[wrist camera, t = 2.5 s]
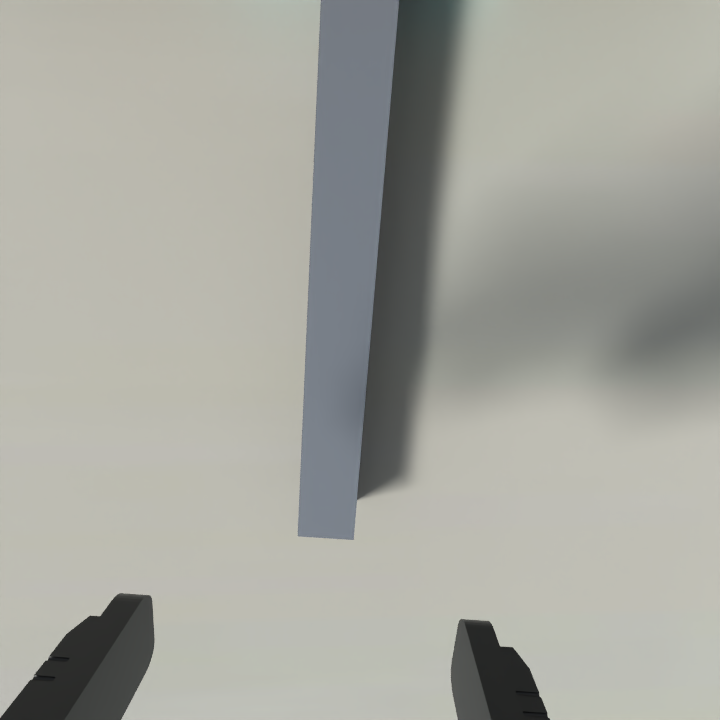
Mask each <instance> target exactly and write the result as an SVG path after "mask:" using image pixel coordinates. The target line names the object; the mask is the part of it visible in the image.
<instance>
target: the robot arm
mask: <svg viewBox="0 0 720 720" xmlns="http://www.w3.org/2000/svg"><path fill="white" fill-rule="evenodd" d="M153 649H154V625H153V607H152V598H151V596H149V595H136V594H123V593H120V594H118V595H117V596H115V597H114V599H113V600H112V601H111V603H110V604H109V605H108V607H107V608H106V609H105V611H104V612H103V613H102V615H101V616H89V617H88V618H87V619H85V620H84V621H83V622H81V623H80V624H79V625H78V626H76V627H75V628H74V629H72V630H71V631H70V632H69V633H67V634H66V636H65V637H64V638H63V639H62V641H61V642H60V643H59V644H58V646H57V647H56V648H55V650H54V651H53V652H52V653H51V655H50V656H49V659H48V661H45V662H44V663H43V665H42V666H41V667H40V668H39V670H38V671H37V672H36V674H35V675H34V678H33V680H30V681H29V682H28V684H27V685H26V686H25V687H24V689H23V690H22V691H21V693H20V694H19V695H18V696H17V698H16V699H15V700H14V701H13V703H12V704H11V705H10V706H9V708H8V709H7V710H6V712H5V713H4V714H3V715H2V717H1V718H0V720H121V719H122V717H123V715H124V713H125V711H126V709H127V707H128V705H129V703H130V701H131V700H132V698H133V696H134V694H135V692H136V690H137V688H138V686H139V684H140V682H141V681H142V679H143V677H144V675H145V673H146V671H147V669H148V666H149V664H150V661H151V658H152V654H153ZM451 683H452V692H453V697H454V702H455V707H456V712H457V717H458V720H550V719H549V718H548V716H547V711H546V709H545V706H544V704H543V701H542V699H541V697H539V691H538V689H537V686H536V684H535V681H534V679H533V676H532V674H531V671H530V669H529V667H528V666H527V665H526V664H525V662H524V661H523V660H522V659H521V657H520V656H519V655H518V653H517V652H516V651H515V650H514V648H513V647H500V646H499V643H498V640H497V637H496V634H495V631H494V629H493V626H492V624H491V623H490V622H489V621H479V620H465V619H461V620H460V621H459V624H458V629H457V635H456V641H455V646H454V652H453V658H452V664H451Z"/></svg>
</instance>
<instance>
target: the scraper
mask: <svg viewBox="0 0 720 720" xmlns="http://www.w3.org/2000/svg"><path fill="white" fill-rule="evenodd" d="M398 8H399V0H321V11H320V34H319V58H318V81H317V104H316V127H315V150H314V173H313V196H312V219H311V242H310V265H309V288H308V311H307V334H306V358H305V381H304V404H303V427H302V450H301V473H300V496H299V519H298V536H303V537H318V538H333V539H348V540H354V528H355V516H356V504H357V492H358V481H359V469H360V457H361V445H362V433H363V422H364V410H365V398H366V386H367V374H368V362H369V351H370V339H371V327H372V315H373V303H374V292H375V280H376V268H377V256H378V244H379V233H380V221H381V209H382V197H383V185H384V174H385V162H386V150H387V138H388V126H389V114H390V103H391V91H392V79H393V67H394V55H395V44H396V32H397V20H398Z"/></svg>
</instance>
